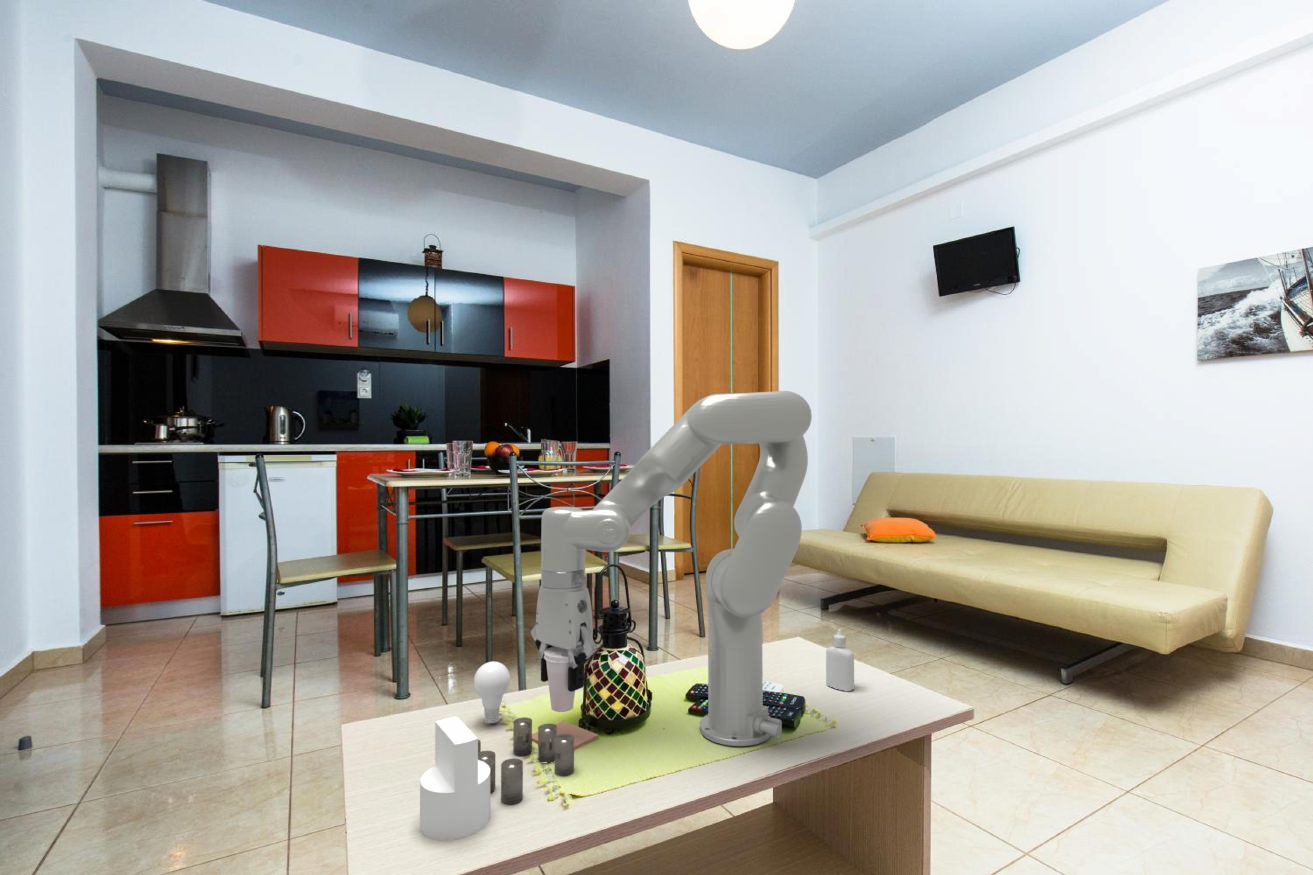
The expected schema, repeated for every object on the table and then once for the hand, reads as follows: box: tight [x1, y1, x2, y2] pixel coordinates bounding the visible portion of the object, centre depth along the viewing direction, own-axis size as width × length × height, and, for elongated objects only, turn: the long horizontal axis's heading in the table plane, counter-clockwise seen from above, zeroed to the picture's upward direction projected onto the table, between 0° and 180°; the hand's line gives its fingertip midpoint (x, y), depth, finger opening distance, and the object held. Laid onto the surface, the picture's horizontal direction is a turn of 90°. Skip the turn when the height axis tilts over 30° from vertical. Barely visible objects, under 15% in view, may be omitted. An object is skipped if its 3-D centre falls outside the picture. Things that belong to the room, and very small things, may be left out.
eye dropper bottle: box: [825, 628, 855, 692], centre depth 132 cm, size 4×6×12 cm
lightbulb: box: [473, 661, 511, 725], centre depth 115 cm, size 6×6×11 cm
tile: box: [532, 720, 599, 751], centre depth 109 cm, size 9×8×1 cm
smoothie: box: [544, 647, 579, 713], centre depth 109 cm, size 6×6×14 cm
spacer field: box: [478, 716, 575, 806], centre depth 97 cm, size 13×15×5 cm
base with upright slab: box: [419, 716, 491, 841], centre depth 85 cm, size 9×9×12 cm
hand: (562, 683), depth 109 cm, fingers closed on smoothie, 6 cm apart
